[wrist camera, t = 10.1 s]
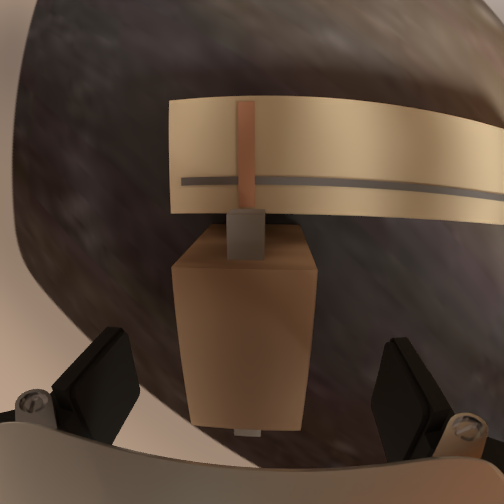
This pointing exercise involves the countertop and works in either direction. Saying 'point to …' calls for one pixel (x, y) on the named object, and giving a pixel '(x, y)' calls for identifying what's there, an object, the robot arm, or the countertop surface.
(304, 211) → the guide plank
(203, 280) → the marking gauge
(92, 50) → the countertop surface
